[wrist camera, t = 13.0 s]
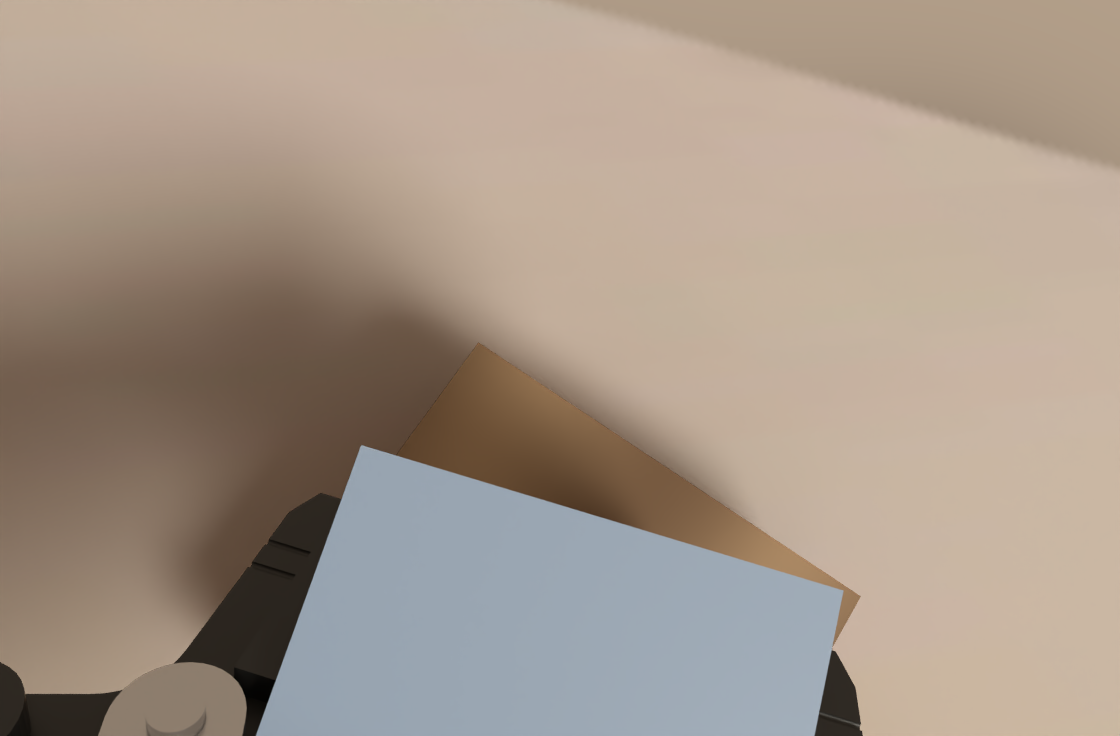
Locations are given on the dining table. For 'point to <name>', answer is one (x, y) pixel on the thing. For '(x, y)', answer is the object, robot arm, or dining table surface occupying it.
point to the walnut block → (582, 466)
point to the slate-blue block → (538, 623)
